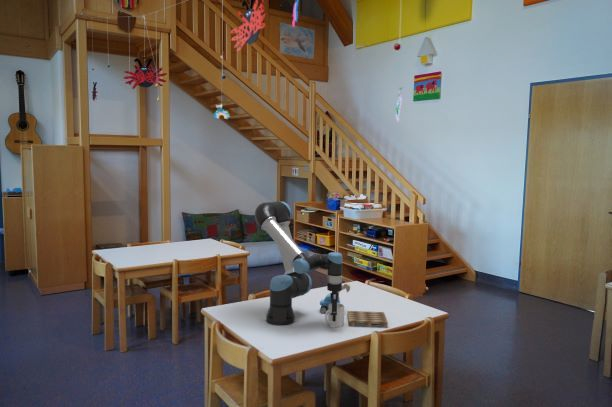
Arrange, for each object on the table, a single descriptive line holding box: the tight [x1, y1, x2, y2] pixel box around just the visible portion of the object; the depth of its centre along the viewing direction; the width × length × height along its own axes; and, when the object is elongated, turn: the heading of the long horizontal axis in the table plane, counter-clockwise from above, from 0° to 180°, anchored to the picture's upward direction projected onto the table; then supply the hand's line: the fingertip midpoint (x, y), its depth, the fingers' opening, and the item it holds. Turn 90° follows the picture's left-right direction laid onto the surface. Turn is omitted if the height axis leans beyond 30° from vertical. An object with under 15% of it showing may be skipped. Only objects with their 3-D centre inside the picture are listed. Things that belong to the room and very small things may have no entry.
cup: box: [324, 302, 345, 328], centre depth 256 cm, size 8×12×10 cm
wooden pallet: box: [346, 310, 389, 329], centre depth 263 cm, size 20×16×3 cm
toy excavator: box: [319, 282, 351, 314], centre depth 277 cm, size 9×17×17 cm, turn 78°
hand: (333, 322), depth 257 cm, fingers open, 13 cm apart
